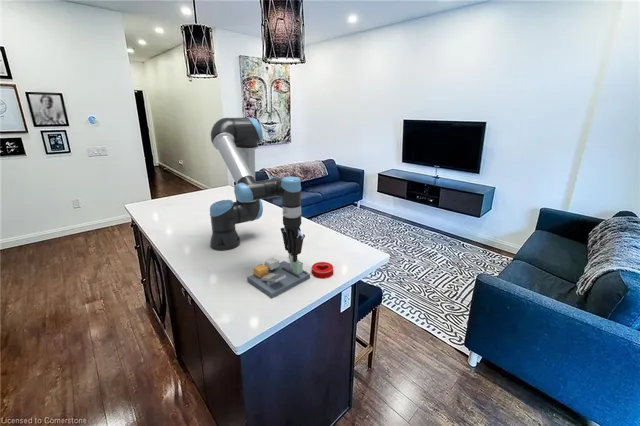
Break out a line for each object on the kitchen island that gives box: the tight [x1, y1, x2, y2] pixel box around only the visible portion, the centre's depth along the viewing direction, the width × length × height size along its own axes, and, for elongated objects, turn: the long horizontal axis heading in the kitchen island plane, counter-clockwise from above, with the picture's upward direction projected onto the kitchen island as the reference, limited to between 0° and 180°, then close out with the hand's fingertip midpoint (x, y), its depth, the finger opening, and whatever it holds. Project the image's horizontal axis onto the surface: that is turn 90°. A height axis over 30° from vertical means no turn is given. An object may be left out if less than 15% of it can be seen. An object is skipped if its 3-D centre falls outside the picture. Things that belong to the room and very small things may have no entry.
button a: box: [252, 264, 268, 278], centre depth 123 cm, size 4×4×3 cm
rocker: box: [261, 273, 286, 282], centre depth 117 cm, size 10×5×1 cm, turn 45°
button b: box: [264, 257, 280, 270], centre depth 126 cm, size 4×4×3 cm
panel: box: [246, 260, 311, 299], centre depth 123 cm, size 17×20×4 cm
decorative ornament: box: [311, 261, 334, 279], centre depth 129 cm, size 10×10×3 cm
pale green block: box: [292, 259, 304, 275], centre depth 124 cm, size 3×3×5 cm
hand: (293, 267), depth 126 cm, fingers closed
